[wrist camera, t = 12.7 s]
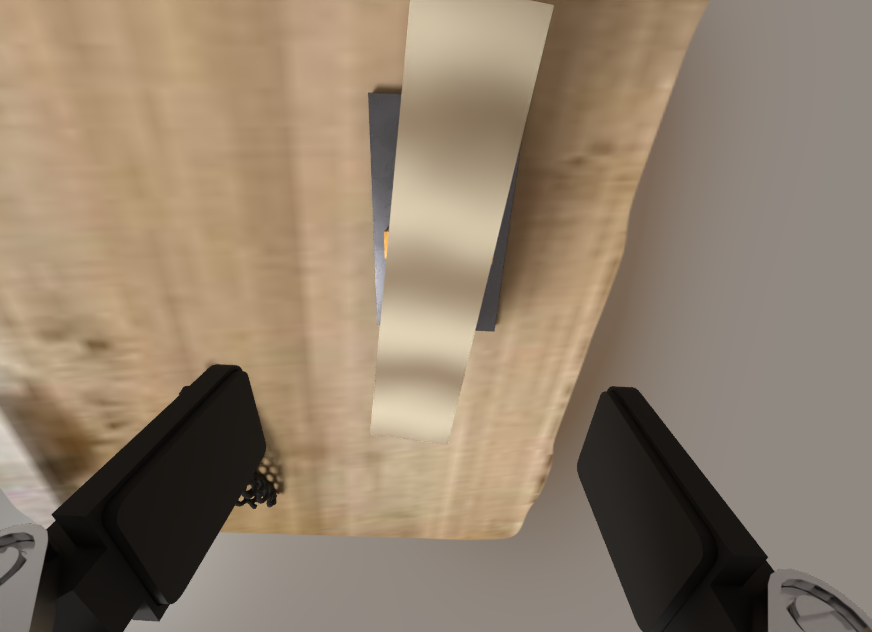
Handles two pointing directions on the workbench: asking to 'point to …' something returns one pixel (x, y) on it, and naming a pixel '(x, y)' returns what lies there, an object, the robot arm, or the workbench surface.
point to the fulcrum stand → (382, 170)
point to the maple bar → (449, 198)
